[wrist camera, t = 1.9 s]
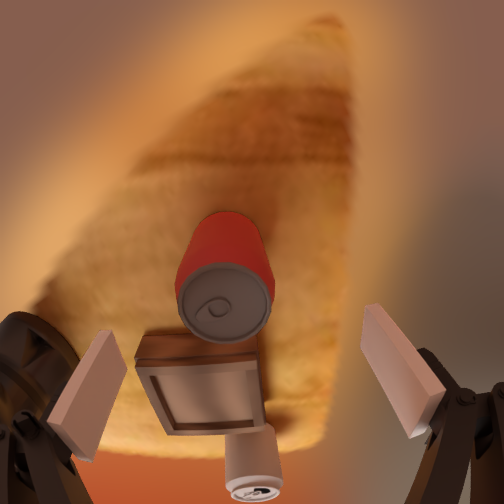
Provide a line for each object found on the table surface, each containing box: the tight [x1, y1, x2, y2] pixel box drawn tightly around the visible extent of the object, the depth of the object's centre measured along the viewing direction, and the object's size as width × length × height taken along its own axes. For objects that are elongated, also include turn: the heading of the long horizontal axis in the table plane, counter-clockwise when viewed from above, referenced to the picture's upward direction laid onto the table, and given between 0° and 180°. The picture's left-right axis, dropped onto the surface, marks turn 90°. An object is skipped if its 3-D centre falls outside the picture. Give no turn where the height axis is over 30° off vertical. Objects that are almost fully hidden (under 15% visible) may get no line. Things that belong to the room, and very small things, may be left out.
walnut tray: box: [134, 333, 266, 436], centre depth 31 cm, size 13×13×5 cm
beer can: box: [175, 212, 275, 344], centre depth 22 cm, size 7×7×12 cm
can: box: [225, 423, 283, 502], centre depth 32 cm, size 8×8×12 cm
